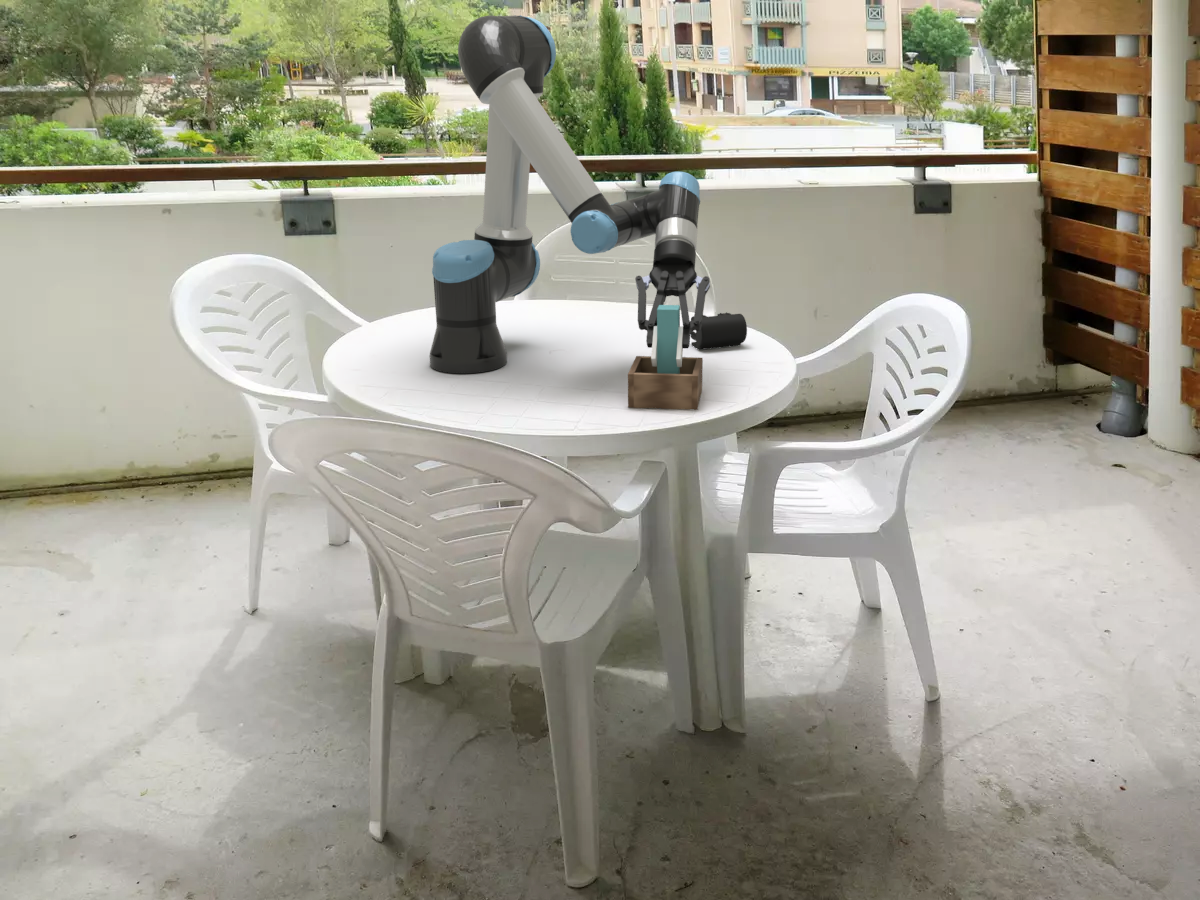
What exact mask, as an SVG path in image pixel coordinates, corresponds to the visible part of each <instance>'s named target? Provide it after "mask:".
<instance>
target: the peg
mask: <svg viewBox="0 0 1200 900" xmlns="http://www.w3.org/2000/svg"><path fill="white" fill-rule="evenodd" d="M680 316H681V308H680V304H679V305H678V304H676V305H675V304H663V305H659V306H658V309H657V373H662V374H680V367H677V361H676V356H677V342H678V330H679V327H681V326H680V325H681V322H680V321H681V319H680V318H681V317H680Z"/></svg>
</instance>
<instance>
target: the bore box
mask: <svg viewBox="0 0 1200 900" xmlns="http://www.w3.org/2000/svg"><path fill="white" fill-rule="evenodd" d="M634 358H635V359H634V360H633V362H632V364H631V367H630V369H629V370H628V371H629V372H628V373H627V407H630V409H631V408H633V409H659V408H661V409H664V410H665V409H667V410H690V409H694V411H695V410H696V411H697V410H698V409H699V405H700V400H701V396H702V393H703V371H704V370H703V361H704V360H703V358H704V357H696V356H695V357H692V356H691V357H688V356H687V357H686V356H682V367H680V374H662V373H657V367H655V366H652V361H651V356H650V355H649V356H647V355H646V356H645V355H643V356H642V355H636V356H635V357H634ZM661 409H660V410H661Z"/></svg>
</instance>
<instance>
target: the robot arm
mask: <svg viewBox="0 0 1200 900" xmlns="http://www.w3.org/2000/svg"><path fill="white" fill-rule="evenodd" d="M457 47H458V49H457V54H458V55H457V56H458V61H459V67H460V68H461V71H462V73H463V76H464V77H465V78H464V79H466V81H467V83H468V85H469V87H470V88H471V89H472V91H473V93H474V94H475V96H476V97H477V98H478V100H479V102H480V103H481V104H483V105H484V104H485V105H488V122H487V123H488V124H487V139H486V140H487V141H486V155H485V156H486V158H485V159H486V161H485V173H484V174H485V175H484V176H485V179H484V197H483V209H482V210H483V211H482V212H483V215H482V216H483V217H482V222H481V223H480V224H479V225H478V226H477V227H476V228H474V235H473V236H474V237H473V238H474V239H463V240H458V241H453V242H449V243H446V244H443V245H442V246H441V245H440V247H438V248H437V249H436V250H435V251H434V253H433V256H432V269H431V274H432V277H433V288H434V289H433V290H434V291H433V292H434V304H435V305H434V306H435V307H434V308H435V318H436V319H435V320H436V329H435V332H434V336H433V338H432V343H431V348H430V351H429V367H430V368H431V369H433V368H434V369H433V370H435V369H436V371H438V370H439V371H438V372H442V371H443V372H442V373H447V372H448V373H449V374H477V373H485V372H490V371H494V370H497V369H500V368H502V367H504V366H505V365H506V364H507V363H508V355H507V349H506V346H505V343H504V341H503V339H502V335H501V333H500V330H499V328H498V324H497V309H496V305H497V304H496V303H498V302H500V301H502V300H505V299H508V298H513V297H516V296H518V295H521V294H522V293H523V292H525V291H526V290H528V289H529V288H531V287H532V285H533V284H534V283H535V281H537V278H538V276H539V273H540V268H541V258H540V257H541V256H540V254H539V251H538V250H537V249H536V246H535V244H534V243H533V235H534V234H533V232H532V231H531V230H530V228H529V227H528V226H527V215H528V214H527V210H528V197H529V196H528V195H529V182H530V170H531V169H530V168H531V166H532V168H533V169H534V170H535V171H536V174H537V175H538V176H539V178H540V179H541V180H542V182H543V183H544V185H545V186H546V188H547V189H548V190H549V191H548V192H550V194H551V195H552V196H553V198H554V200H555V201H556V202H557V204H558V206H560V208H561V210H562V211H563V213H564V214H565V215H566V217H567V218H568V219H569V222H570V224H571V225H570V236H571V240H572V243H573V245H574V246H575V247H576V248H577V249H578V250H579V251H580V252H582V253H584V254H589V255H595V254H601V253H606V252H608V251H610V250H612V249H614V248H616V247H620V246H623V245H627V244H629V243H632V242H634V241H636V240H640V239H643V238H644V239H645V238H647V237H650V236H652V235H655V238H654V251H653V261H652V262H653V264H652V268H651V271H649V274H648V275H646V276H641V275H636V277H635V284H636V289H637V290H638V291H637V294H638V295H637V299H638V300H637V325H638V329H639V330H641V331H643V330H645V331H646V341H645V342H646V345H647V346H646V347H647V348H648V349H650V348H651V353H650V354H651V361H652V366H655V367H657V309H658V306H659V305H665V304H664V303H665V302H666V299H667V297H672V296H674V297H678V300H679V305H680V316H681V321H682V326H680V327H679V330H678V342H677V356H676V361H677V367H682V357H683V351H684V349H689V348H690V345H691V343H690V342H691V341H690V340H691V334H690V333H691V332H692V331H694V332H696V331H699V330H701V325H702V318H703V315H704V310H705V302H706V296H707V294H708V292H709V290H710V289H711V283H710V282H711V281H710V277H709V276H706V275H705V276H703V277H701V276H699V275H698V273H697V272H696V260H697V259H696V256H697V252H696V251H697V244H698V243H697V241H698V222H699V211H700V204H701V196H700V189H701V188H700V183H699V181H698V179H696V177H695V176H693V174H690V173H688V172H685V171H672V172H669V173H666V174H665V176H663V177H662V178H661V180H660V184H659V185H658V190H655V191H651V192H649V193H647V194H643V195H641V196H637V197H634V198H630V199H625V200H624V201H619V202H615V203H612V204H610V203H609V201H608V200H607V199H606V198H605V196H604V195H603V193H602V191H601V190H600V188H599V187H598V186H597V185H596V183H595V182H594V179H593V178H592V177H591V176H590V174H589V173H588V171H587V170H586V168H585V167H584V166H583V164H582V163H581V160H579V158H578V157H577V155H576V154H575V152H574V151H573V149H572V148H571V146H570V144H569V143H568V142H567V141H566V139H565V138H564V136H563V134H562V133H561V132H560V131H559V128H557V126H556V125H555V123H554V121H553V120H552V119H551V117H550V115H549V114H548V113H547V112H546V110H545V108H544V107H543V106H542V104H541V102H540V101H539V100H538V99H539V98H540V97H542V95H543V92H544V81H545V77H547V76H548V74H549V73H550V72H551V71H552V69H553V68H554V66H555V62H556V58H557V48H556V43H555V40H554V38H553V35H552V33H551V32H550V31H549V29H548V28H547V27H546V25H544V24H543V23H542V22H541V21H539V20H537V19H536V18H534V17H529V16H523V15H521V14H520V15H515V14H513V15H484V16H480V17H478V18H476V19H474V20H472V21H471V22H470V23H469V24H467V26H465V28H464V30H463V32H462V33H461V35H460V38H459V41H458V45H457ZM650 284H652V285H653V287H654V288H655V289H656V293H655V294H656V295H655V297H654V300H653V304H652V307H651V309H650V314H649V317H648V319H647V290H648V289H649V287H650ZM694 284H695V285H696V289H697V293H696V302H695V308H694V315H693V316H694V320H693V321H691V319H690V314H689V308H688V301H687V292H688V291H689V290H690V289H691V288H692V287H693V286H694Z"/></svg>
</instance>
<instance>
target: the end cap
mask: <svg viewBox="0 0 1200 900" xmlns="http://www.w3.org/2000/svg"><path fill="white" fill-rule="evenodd" d="M693 320H694V315H692V316H691V318H690V321H693ZM746 321H747V320H746V318H745V316H744V315H743V314H742V313H734V314H732V313H730V312H728V311H727V312H724V313H722V312H720V313H717V315H712V316H707V315H705V314H703V318H702V325H701V330H699V331H696V330H694V331H692V332H691V333H690V339H692V340H694V341H692V342H691V343H690V345H691V346H692V347H693V346H694V347H693V348H695V349H696V348H697V350H698V349H699V351H700V350H708V349H709V350H711V349H719V347H721V348H727V347H728V348H730V347H729V346H731V347H739V346H738V345H742V343H745V341H746V339H747V335H748V326H747V322H746ZM710 348H711V349H710Z"/></svg>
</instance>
